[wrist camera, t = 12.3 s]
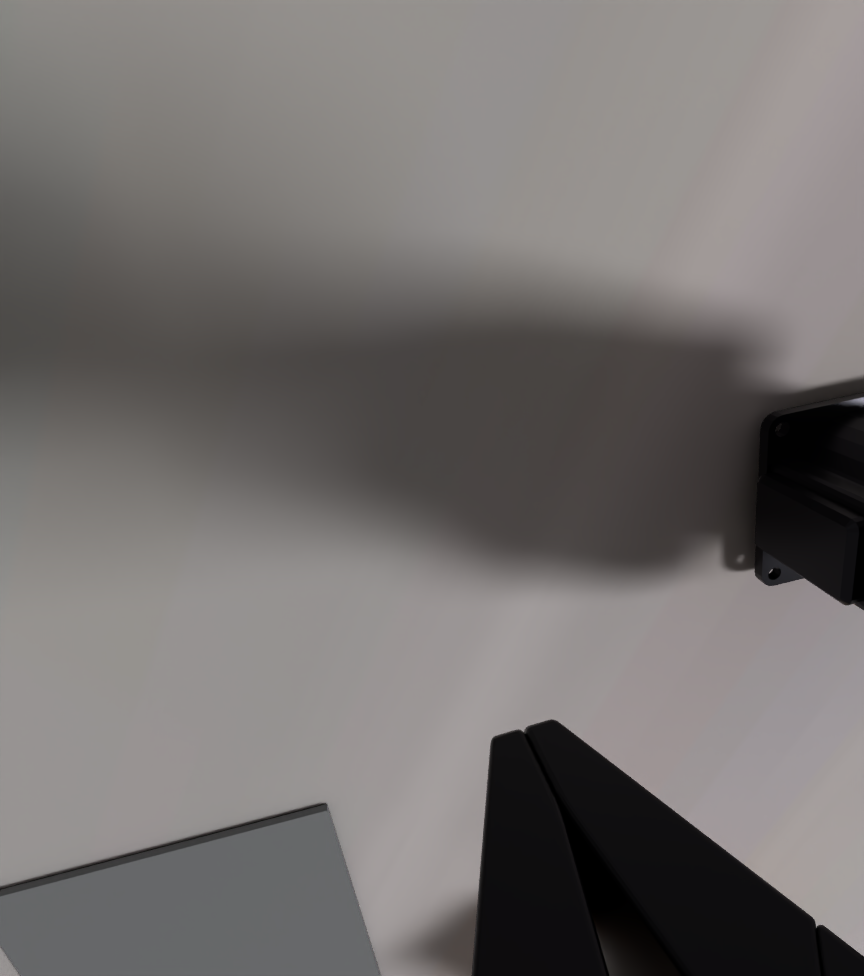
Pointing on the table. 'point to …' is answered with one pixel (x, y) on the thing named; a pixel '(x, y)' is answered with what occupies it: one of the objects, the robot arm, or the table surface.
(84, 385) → the table surface
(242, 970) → the mat
